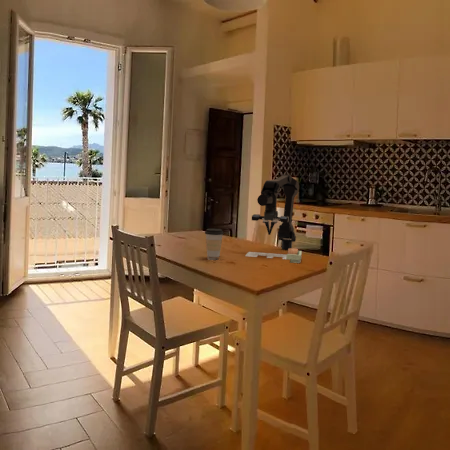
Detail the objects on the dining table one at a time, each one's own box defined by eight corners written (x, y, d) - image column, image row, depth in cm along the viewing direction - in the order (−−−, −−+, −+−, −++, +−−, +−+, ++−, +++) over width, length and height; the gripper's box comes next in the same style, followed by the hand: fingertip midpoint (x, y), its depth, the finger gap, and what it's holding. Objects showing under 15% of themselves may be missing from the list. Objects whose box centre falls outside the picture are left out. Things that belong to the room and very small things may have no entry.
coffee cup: (206, 261, 227) (207, 230, 225) (202, 257, 236) (203, 228, 234) (224, 260, 230) (226, 230, 228) (220, 257, 239) (221, 228, 237)
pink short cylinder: (288, 255, 243) (288, 247, 242) (297, 256, 242) (298, 248, 242) (287, 257, 238) (288, 249, 238) (297, 257, 237) (297, 250, 237)
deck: (248, 254, 249) (248, 247, 249) (301, 258, 244) (301, 251, 243) (244, 258, 236) (245, 251, 236) (300, 263, 231) (300, 255, 231)
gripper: (250, 205, 234) (249, 235, 236) (288, 207, 230) (286, 238, 232) (253, 203, 245) (252, 232, 246) (289, 205, 241) (287, 235, 243)
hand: (269, 234), depth 242 cm, fingers closed
